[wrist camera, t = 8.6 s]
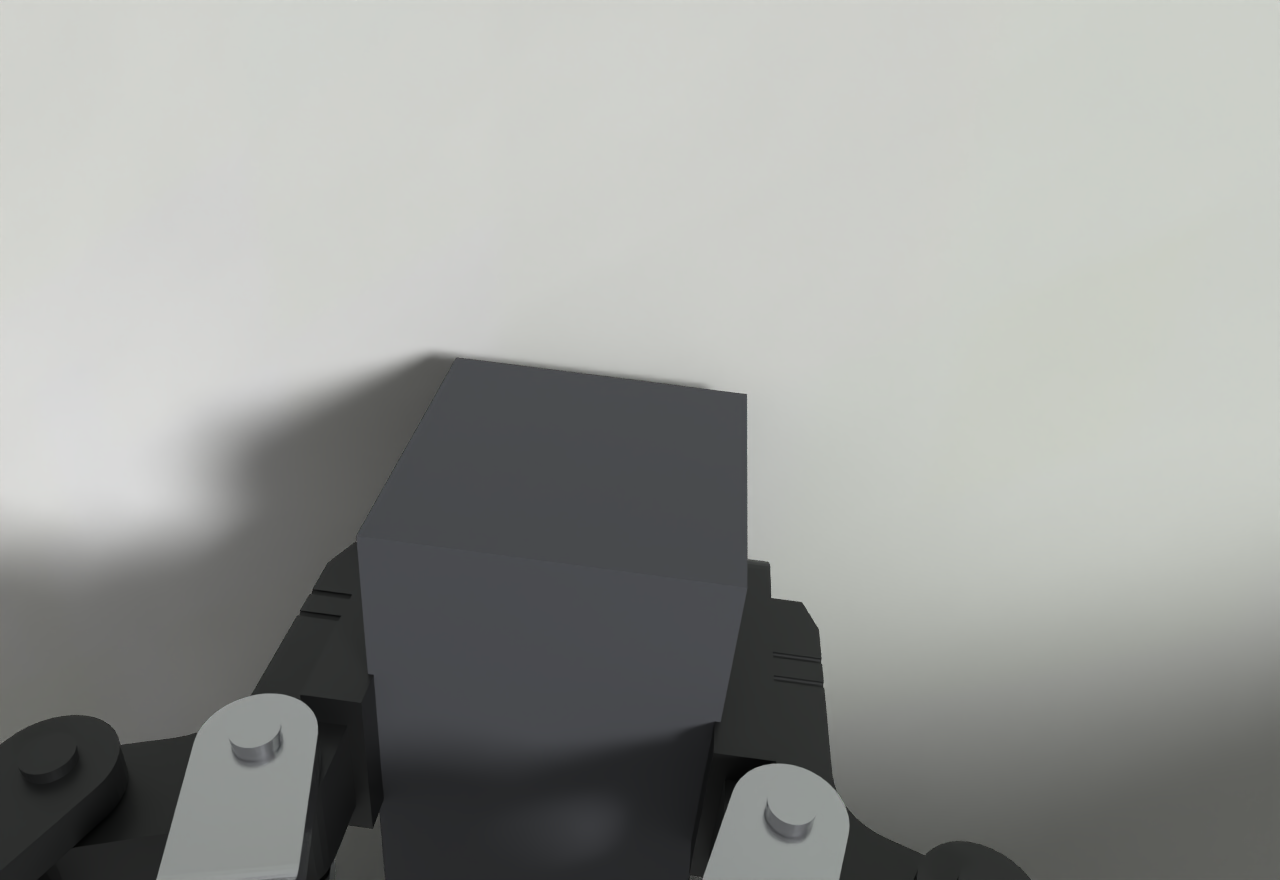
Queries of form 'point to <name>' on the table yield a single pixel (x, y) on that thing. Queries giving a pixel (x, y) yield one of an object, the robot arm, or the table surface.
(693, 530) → the grey two-tone block
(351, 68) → the table surface
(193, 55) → the table surface
